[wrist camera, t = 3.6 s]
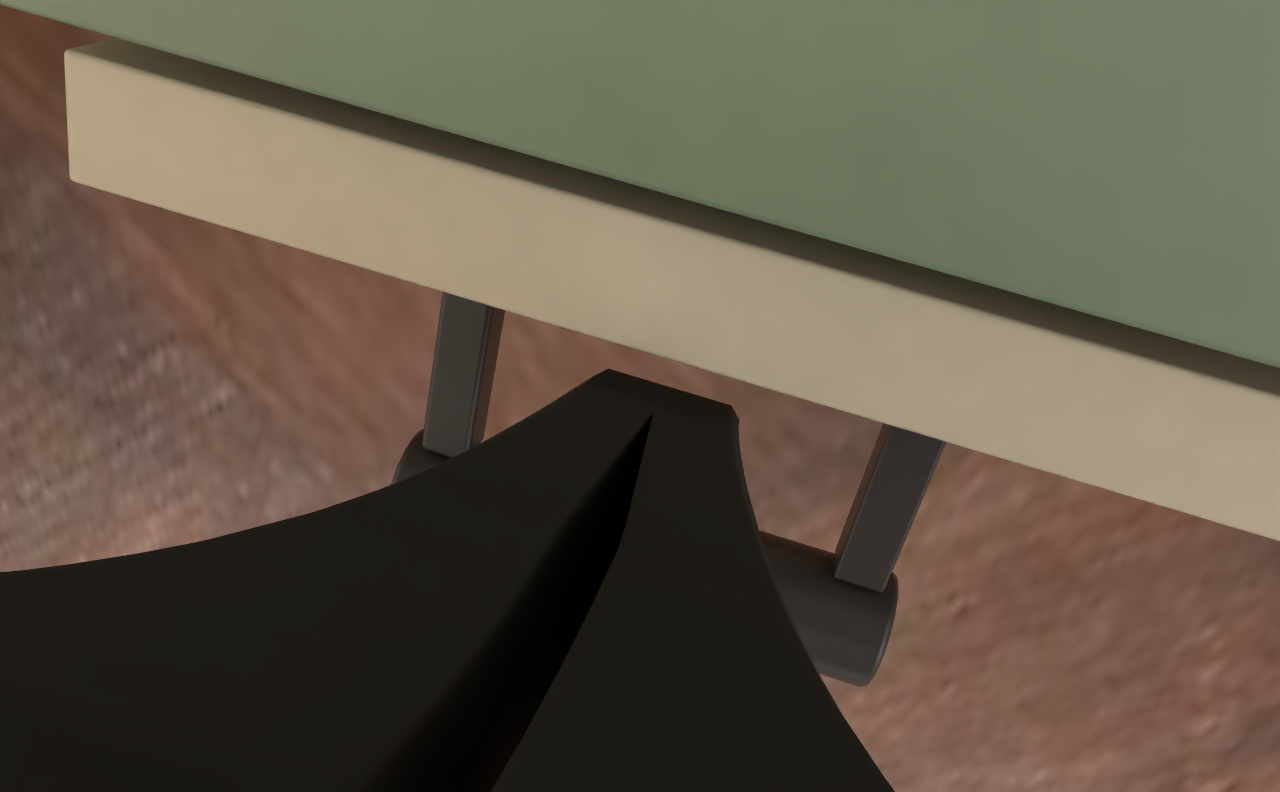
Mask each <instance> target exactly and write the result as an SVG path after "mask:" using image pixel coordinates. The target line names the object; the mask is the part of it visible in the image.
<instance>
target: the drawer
mask: <svg viewBox="0 0 1280 792" xmlns="http://www.w3.org/2000/svg"><path fill="white" fill-rule="evenodd" d="M64 61H65V83H66V105H67V128H68V150H69V173H70V178H71V180H72V181H74V182H77V183H80V184H83V185H87V186H90V187H93V188H97V189H100V190H103V191H107V192H110V193H114V194H117V195H120V196H124V197H127V198H130V199H134V200H137V201H140V202H144V203H147V204H150V205H154V206H157V207H161V208H164V209H167V210H171V211H174V212H177V213H181V214H184V215H187V216H191V217H194V218H197V219H201V220H204V221H207V222H211V223H214V224H218V225H221V226H224V227H228V228H231V229H234V230H238V231H241V232H244V233H248V234H251V235H254V236H258V237H261V238H265V239H268V240H271V241H275V242H278V243H281V244H285V245H288V246H291V247H295V248H298V249H301V250H305V251H308V252H311V253H315V254H318V255H322V256H325V257H328V258H332V259H335V260H338V261H342V262H345V263H348V264H352V265H355V266H358V267H362V268H365V269H368V270H372V271H375V272H379V273H382V274H385V275H389V276H392V277H395V278H399V279H402V280H405V281H409V282H412V283H415V284H419V285H422V286H426V287H429V288H432V289H436V290H439V291H442V292H443V295H442V302H441V309H440V316H439V324H438V331H437V338H436V345H435V353H434V360H433V367H432V374H431V382H430V389H429V396H428V403H427V411H426V418H425V425H424V429H422V430H420V431H419V432H418V433H417V434H416V435H415V436H414V438H413V439H412V440H411V442H410V443H409V445H408V446H407V448H406V450H405V451H404V453H403V455H402V457H401V459H400V462H399V464H398V466H397V469H396V471H395V474H394V477H393V480H392V483H391V485H392V484H395V483H397V482H400V481H403V480H405V479H407V478H410V477H412V476H414V475H417V474H419V473H421V472H423V471H425V470H427V469H429V468H431V467H433V466H435V465H438V464H440V463H442V462H444V461H446V460H448V459H450V458H452V457H454V456H456V455H458V454H460V453H463V452H465V451H467V450H469V449H471V448H473V447H475V446H477V445H479V444H480V442H481V441H482V440H483V437H484V431H485V425H486V419H487V413H488V407H489V401H490V395H491V390H492V384H493V378H494V372H495V366H496V360H497V354H498V348H499V343H500V337H501V331H502V325H503V319H504V313H505V310H506V311H509V312H513V313H516V314H519V315H523V316H526V317H529V318H533V319H536V320H540V321H543V322H546V323H550V324H553V325H556V326H560V327H563V328H566V329H570V330H573V331H576V332H580V333H583V334H587V335H590V336H593V337H597V338H600V339H603V340H607V341H610V342H613V343H617V344H620V345H623V346H627V347H630V348H633V349H637V350H640V351H644V352H647V353H650V354H654V355H657V356H660V357H664V358H667V359H670V360H674V361H677V362H680V363H684V364H687V365H690V366H694V367H697V368H701V369H704V370H707V371H711V372H714V373H717V374H721V375H724V376H727V377H731V378H734V379H737V380H741V381H744V382H748V383H751V384H754V385H758V386H761V387H764V388H768V389H771V390H774V391H778V392H781V393H784V394H788V395H791V396H794V397H798V398H801V399H805V400H808V401H811V402H815V403H818V404H821V405H825V406H828V407H831V408H835V409H838V410H841V411H845V412H848V413H851V414H855V415H858V416H862V417H865V418H868V419H872V420H875V421H878V422H882V423H883V426H882V429H881V431H880V434H879V437H878V439H877V442H876V444H875V447H874V450H873V452H872V455H871V458H870V460H869V463H868V465H867V468H866V471H865V473H864V476H863V479H862V481H861V484H860V486H859V489H858V492H857V494H856V497H855V500H854V502H853V505H852V507H851V510H850V513H849V515H848V518H847V521H846V523H845V526H844V528H843V531H842V534H841V536H840V539H839V542H838V544H837V547H836V552H835V554H834V553H831V552H827V551H824V550H821V549H818V548H814V547H811V546H808V545H805V544H802V543H798V542H795V541H792V540H789V539H785V538H782V537H779V536H776V535H773V534H769V533H766V532H763V531H760V530H759V532H760V536H761V539H762V542H763V545H764V548H765V551H766V554H767V557H768V560H769V563H770V566H771V568H772V571H773V573H774V576H775V579H776V581H777V584H778V586H779V589H780V591H781V594H782V597H783V599H784V602H785V604H786V606H787V608H788V611H789V613H790V615H791V618H792V620H793V622H794V624H795V627H796V629H797V631H798V633H799V635H800V637H801V639H802V642H803V644H804V646H805V647H806V649H807V651H808V653H809V655H810V657H811V659H812V661H813V663H814V665H815V667H816V669H817V671H818V673H819V674H822V675H825V676H828V677H831V678H834V679H837V680H840V681H843V682H847V683H850V684H853V685H856V686H866V685H868V684H869V682H870V681H871V680H872V678H873V677H874V675H875V674H876V672H877V670H878V668H879V666H880V663H881V661H882V658H883V656H884V653H885V650H886V647H887V644H888V641H889V638H890V634H891V630H892V626H893V622H894V618H895V613H896V607H897V600H898V580H897V576H896V575H895V574H894V573H893V572H892V571H893V568H894V566H895V564H896V561H897V559H898V556H899V554H900V552H901V549H902V547H903V544H904V542H905V540H906V537H907V535H908V532H909V530H910V528H911V525H912V523H913V521H914V518H915V516H916V513H917V511H918V509H919V506H920V504H921V501H922V499H923V497H924V494H925V492H926V489H927V487H928V485H929V482H930V480H931V478H932V475H933V473H934V470H935V468H936V466H937V463H938V461H939V458H940V456H941V454H942V451H943V449H944V446H945V444H946V442H949V443H952V444H955V445H959V446H962V447H966V448H969V449H972V450H976V451H979V452H982V453H986V454H989V455H992V456H996V457H999V458H1002V459H1006V460H1009V461H1013V462H1016V463H1019V464H1023V465H1026V466H1029V467H1033V468H1036V469H1039V470H1043V471H1046V472H1049V473H1053V474H1056V475H1059V476H1063V477H1066V478H1070V479H1073V480H1076V481H1080V482H1083V483H1086V484H1090V485H1093V486H1096V487H1100V488H1103V489H1106V490H1110V491H1113V492H1116V493H1120V494H1123V495H1127V496H1130V497H1133V498H1137V499H1140V500H1143V501H1147V502H1150V503H1153V504H1157V505H1160V506H1163V507H1167V508H1170V509H1174V510H1177V511H1180V512H1184V513H1187V514H1190V515H1194V516H1197V517H1200V518H1204V519H1207V520H1210V521H1214V522H1217V523H1220V524H1224V525H1227V526H1231V527H1234V528H1237V529H1241V530H1244V531H1247V532H1251V533H1254V534H1257V535H1261V536H1264V537H1267V538H1271V539H1274V540H1277V541H1280V368H1277V367H1274V366H1270V365H1267V364H1263V363H1260V362H1256V361H1253V360H1249V359H1246V358H1242V357H1239V356H1235V355H1232V354H1228V353H1225V352H1221V351H1217V350H1214V349H1210V348H1207V347H1203V346H1200V345H1196V344H1193V343H1189V342H1186V341H1182V340H1179V339H1175V338H1172V337H1168V336H1165V335H1161V334H1158V333H1154V332H1151V331H1147V330H1144V329H1140V328H1137V327H1133V326H1129V325H1126V324H1122V323H1119V322H1115V321H1112V320H1108V319H1105V318H1101V317H1098V316H1094V315H1091V314H1087V313H1084V312H1080V311H1077V310H1073V309H1070V308H1066V307H1063V306H1059V305H1056V304H1052V303H1049V302H1045V301H1041V300H1038V299H1034V298H1031V297H1027V296H1024V295H1020V294H1017V293H1013V292H1010V291H1006V290H1003V289H999V288H996V287H992V286H989V285H985V284H982V283H978V282H975V281H971V280H968V279H964V278H961V277H957V276H953V275H950V274H946V273H943V272H939V271H936V270H932V269H929V268H925V267H922V266H918V265H915V264H911V263H908V262H904V261H901V260H897V259H894V258H890V257H887V256H883V255H880V254H876V253H872V252H869V251H865V250H862V249H858V248H855V247H851V246H848V245H844V244H841V243H837V242H834V241H830V240H827V239H823V238H820V237H816V236H813V235H809V234H806V233H802V232H799V231H795V230H792V229H788V228H784V227H781V226H777V225H774V224H770V223H767V222H763V221H760V220H756V219H753V218H749V217H746V216H742V215H739V214H735V213H732V212H728V211H725V210H721V209H718V208H714V207H711V206H707V205H704V204H700V203H696V202H693V201H689V200H686V199H682V198H679V197H675V196H672V195H668V194H665V193H661V192H658V191H654V190H651V189H647V188H644V187H640V186H637V185H633V184H630V183H626V182H623V181H619V180H616V179H612V178H608V177H605V176H601V175H598V174H594V173H591V172H587V171H584V170H580V169H577V168H573V167H570V166H566V165H563V164H559V163H556V162H552V161H549V160H545V159H542V158H538V157H535V156H531V155H528V154H524V153H520V152H517V151H513V150H510V149H506V148H503V147H499V146H496V145H492V144H489V143H485V142H482V141H478V140H475V139H471V138H468V137H464V136H461V135H457V134H454V133H450V132H447V131H443V130H439V129H436V128H432V127H429V126H425V125H422V124H418V123H415V122H411V121H408V120H404V119H401V118H397V117H394V116H390V115H387V114H383V113H380V112H376V111H373V110H369V109H366V108H362V107H359V106H355V105H351V104H348V103H344V102H341V101H337V100H334V99H330V98H327V97H323V96H320V95H316V94H313V93H309V92H306V91H302V90H299V89H295V88H292V87H288V86H285V85H281V84H278V83H274V82H271V81H267V80H263V79H260V78H256V77H253V76H249V75H246V74H242V73H239V72H235V71H232V70H228V69H225V68H221V67H218V66H214V65H211V64H207V63H204V62H200V61H197V60H193V59H190V58H186V57H183V56H179V55H175V54H172V53H168V52H165V51H161V50H158V49H154V48H151V47H147V46H144V45H140V44H137V43H133V42H130V41H126V40H123V39H119V38H116V37H115V38H111V39H107V40H103V41H99V42H95V43H91V44H87V45H83V46H79V47H75V48H71V49H67V50H66V51H65V54H64Z"/></svg>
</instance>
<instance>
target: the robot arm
mask: <svg viewBox="0 0 1280 792" xmlns="http://www.w3.org/2000/svg"><path fill="white" fill-rule="evenodd" d="M738 426H739V418H738V417H737V415H736V413H735V411H734V409H733V408H732V406H731V405H728V404H724V403H721V402H718V401H714V400H711V399H708V398H704V397H701V396H698V395H694V394H691V393H688V392H684V391H681V390H678V389H674V388H671V387H668V386H664V385H661V384H658V383H654V382H651V381H648V380H644V379H641V378H638V377H634V376H631V375H628V374H624V373H621V372H618V371H614V370H611V369H607V370H605V371H603V372H601V373H599V374H597V375H595V376H593V377H592V378H590V379H588V380H587V381H585V382H583V383H582V384H580V385H579V386H577V387H576V388H574V389H573V390H571V391H569V392H568V393H566V394H565V395H563V396H561V397H560V398H558V399H557V400H555V401H553V402H552V403H550V404H549V405H547V406H545V407H544V408H542V409H540V410H539V411H537V412H535V413H534V414H532V415H530V416H529V417H527V418H525V419H523V420H522V421H520V422H518V423H516V424H514V425H513V426H511V427H509V428H507V429H506V430H504V431H502V432H500V433H499V434H497V435H495V436H493V437H491V438H490V439H488V440H486V441H484V442H482V443H480V444H479V445H477V446H475V447H473V448H471V449H469V450H467V451H465V452H463V453H460V454H458V455H456V456H454V457H452V458H450V459H448V460H446V461H444V462H442V463H440V464H438V465H435V466H433V467H431V468H429V469H427V470H425V471H423V472H421V473H419V474H417V475H414V476H412V477H410V478H407V479H405V480H403V481H400V482H397V483H395V484H392V485H390V486H387V487H385V488H382V489H380V490H377V491H374V492H371V493H368V494H365V495H363V496H360V497H357V498H354V499H351V500H348V501H345V502H342V503H340V504H337V505H334V506H331V507H328V508H325V509H322V510H318V511H315V512H312V513H309V514H305V515H301V516H297V517H294V518H290V519H286V520H282V521H278V522H274V523H271V524H267V525H263V526H259V527H255V528H251V529H247V530H244V531H240V532H236V533H232V534H228V535H224V536H220V537H217V538H213V539H209V540H204V541H200V542H195V543H190V544H185V545H180V546H175V547H169V548H164V549H159V550H154V551H149V552H143V553H138V554H132V555H126V556H120V557H113V558H107V559H101V560H94V561H88V562H82V563H75V564H68V565H61V566H53V567H46V568H38V569H30V570H21V571H10V572H0V792H895V791H894V790H893V788H892V787H891V786H890V784H889V783H888V782H887V780H886V779H885V777H884V776H883V775H882V773H881V772H880V770H879V769H878V767H877V766H876V764H875V763H874V761H873V760H872V758H871V757H870V755H869V754H868V752H867V751H866V749H865V748H864V746H863V745H862V743H861V742H860V740H859V739H858V737H857V736H856V734H855V733H854V731H853V730H852V729H851V727H850V726H849V724H848V723H847V721H846V720H845V718H844V717H843V715H842V713H841V712H840V710H839V708H838V706H837V705H836V703H835V701H834V699H833V698H832V696H831V694H830V693H829V691H828V689H827V687H826V686H825V684H824V682H823V680H822V679H821V677H820V675H819V673H818V671H817V669H816V667H815V665H814V663H813V661H812V659H811V657H810V655H809V653H808V651H807V649H806V647H805V646H804V644H803V642H802V639H801V637H800V635H799V633H798V631H797V629H796V627H795V624H794V622H793V620H792V618H791V615H790V613H789V611H788V608H787V606H786V604H785V602H784V599H783V597H782V594H781V591H780V589H779V586H778V584H777V581H776V579H775V576H774V573H773V571H772V568H771V566H770V563H769V560H768V557H767V554H766V551H765V548H764V545H763V542H762V539H761V536H760V532H759V529H758V525H757V522H756V518H755V515H754V512H753V508H752V505H751V501H750V497H749V493H748V489H747V485H746V480H745V475H744V470H743V465H742V459H741V453H740V445H739V430H738Z"/></svg>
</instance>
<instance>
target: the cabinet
mask: <svg viewBox="0 0 1280 792" xmlns="http://www.w3.org/2000/svg"><path fill="white" fill-rule="evenodd" d="M0 5H3V6H7V7H10V8H14V9H17V10H21V11H24V12H28V13H31V14H35V15H38V16H42V17H45V18H49V19H52V20H56V21H59V22H63V23H66V24H70V25H73V26H77V27H80V28H84V29H87V30H91V31H95V32H98V33H102V34H105V35H109V36H112V37H116V38H119V39H123V40H126V41H130V42H133V43H137V44H140V45H144V46H147V47H151V48H154V49H158V50H161V51H165V52H168V53H172V54H175V55H179V56H183V57H186V58H190V59H193V60H197V61H200V62H204V63H207V64H211V65H214V66H218V67H221V68H225V69H228V70H232V71H235V72H239V73H242V74H246V75H249V76H253V77H256V78H260V79H263V80H267V81H271V82H274V83H278V84H281V85H285V86H288V87H292V88H295V89H299V90H302V91H306V92H309V93H313V94H316V95H320V96H323V97H327V98H330V99H334V100H337V101H341V102H344V103H348V104H351V105H355V106H359V107H362V108H366V109H369V110H373V111H376V112H380V113H383V114H387V115H390V116H394V117H397V118H401V119H404V120H408V121H411V122H415V123H418V124H422V125H425V126H429V127H432V128H436V129H439V130H443V131H447V132H450V133H454V134H457V135H461V136H464V137H468V138H471V139H475V140H478V141H482V142H485V143H489V144H492V145H496V146H499V147H503V148H506V149H510V150H513V151H517V152H520V153H524V154H528V155H531V156H535V157H538V158H542V159H545V160H549V161H552V162H556V163H559V164H563V165H566V166H570V167H573V168H577V169H580V170H584V171H587V172H591V173H594V174H598V175H601V176H605V177H608V178H612V179H616V180H619V181H623V182H626V183H630V184H633V185H637V186H640V187H644V188H647V189H651V190H654V191H658V192H661V193H665V194H668V195H672V196H675V197H679V198H682V199H686V200H689V201H693V202H696V203H700V204H704V205H707V206H711V207H714V208H718V209H721V210H725V211H728V212H732V213H735V214H739V215H742V216H746V217H749V218H753V219H756V220H760V221H763V222H767V223H770V224H774V225H777V226H781V227H784V228H788V229H792V230H795V231H799V232H802V233H806V234H809V235H813V236H816V237H820V238H823V239H827V240H830V241H834V242H837V243H841V244H844V245H848V246H851V247H855V248H858V249H862V250H865V251H869V252H872V253H876V254H880V255H883V256H887V257H890V258H894V259H897V260H901V261H904V262H908V263H911V264H915V265H918V266H922V267H925V268H929V269H932V270H936V271H939V272H943V273H946V274H950V275H953V276H957V277H961V278H964V279H968V280H971V281H975V282H978V283H982V284H985V285H989V286H992V287H996V288H999V289H1003V290H1006V291H1010V292H1013V293H1017V294H1020V295H1024V296H1027V297H1031V298H1034V299H1038V300H1041V301H1045V302H1049V303H1052V304H1056V305H1059V306H1063V307H1066V308H1070V309H1073V310H1077V311H1080V312H1084V313H1087V314H1091V315H1094V316H1098V317H1101V318H1105V319H1108V320H1112V321H1115V322H1119V323H1122V324H1126V325H1129V326H1133V327H1137V328H1140V329H1144V330H1147V331H1151V332H1154V333H1158V334H1161V335H1165V336H1168V337H1172V338H1175V339H1179V340H1182V341H1186V342H1189V343H1193V344H1196V345H1200V346H1203V347H1207V348H1210V349H1214V350H1217V351H1221V352H1225V353H1228V354H1232V355H1235V356H1239V357H1242V358H1246V359H1249V360H1253V361H1256V362H1260V363H1263V364H1267V365H1270V366H1274V367H1277V368H1280V0H0Z"/></svg>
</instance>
